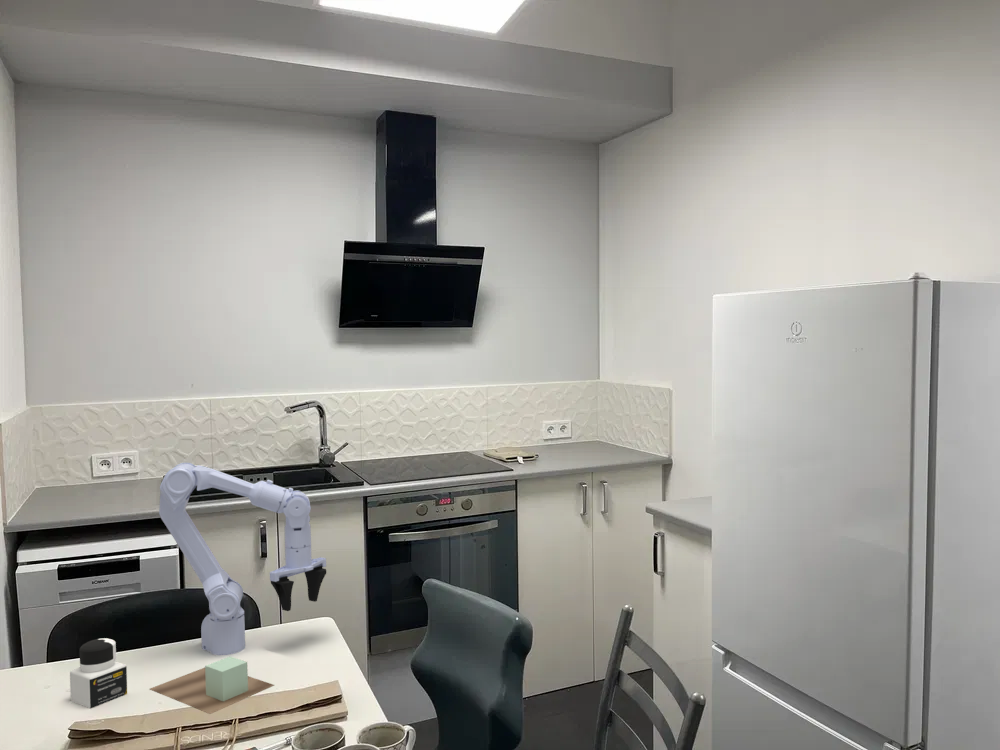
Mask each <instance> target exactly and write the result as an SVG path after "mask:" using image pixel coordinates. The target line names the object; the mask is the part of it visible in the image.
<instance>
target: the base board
mask: <svg viewBox="0 0 1000 750" xmlns="http://www.w3.org/2000/svg"><path fill="white" fill-rule="evenodd" d="M274 686H275V684H273V683H270V682H266V681H263V680H262V679H258V678H256V677H252V676H249V675H248V691H246V692H244V693H242V694H239V695H237V696H235V697H232V698H230V699H228V700H226V701H221V700H218V699H215V698H213V697H210V696H208V695H206V675H205V667H203V668H202V667H201V668H200V669H197V670H195V671H192V672H190V673H187V674H184V675H182V676H179V677H177V678H174V679H171V680H169V681H166V682H162V683H161V684H159V685H156V686H153V687H150V688H149V691H153V692H155V693H157V694H159V695H162V696H165V697H168V698H169V699H173V700H174V701H177V702H180V703H182V704H184V705H186V706H187V705H188V706H190V707H192V708H194V709H197V710H199V711H202V712H203V713H207V714H209V715H211V714H213V713H215V712H218V711H220V710H222V709H225V708H227V707H230V706H231V705H234V704H236V703H238V702H240V701H243V700H245V699H247V698H249V697H252V696H254V695H257V694H258V693H261V692H262V691H266V690H267V689H269V688H271V687H274Z"/></svg>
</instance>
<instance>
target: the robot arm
mask: <svg viewBox="0 0 1000 750" xmlns="http://www.w3.org/2000/svg"><path fill="white" fill-rule="evenodd" d="M161 481H162V482H161V483H160V485H159V491H160V492H159V493H160V494H159V495H160V496H159V506H158V508H159V509H158V510H159V512H158V513H159V517H160V519H161V521H162V522H163V523H164V525H165V526H166V529H167V530H168V531H169V533H170V535H171V536H172V538H173V539H174V541H175V543H176V544H177V546H178V547H179V549H180V550H181V552H182V553H183V556H184V557H185V558H186V560H187V561H188V564H189V565H190V566H191V567H192V569H193V571H194V573H195V574H196V576H197V577H198V580H199V581H200V583H201V584H202V588H203V591H204V592H203V593H204V595H205V597H206V598H207V600H208V606H209V607H208V610H209V614H207V615H206V616H205V617H204V619H202V623H201V626H200V627H201V628H200V629H201V630H200V633H201V640H200V641H201V649H202V650H204V651H207V652H210V654H211V655H215V656H229V655H233V654H237V653H239V652H242V651H243V650H245V648H246V629H245V627H246V626H245V610H244V609H243V608H242V606H241V601H242V599H243V596H244V590H243V589H244V588H243V586H242V585H241V584H240V583H239V582H238V581H236V580H234V579H233V578H231V576H230V575H229V573H228V572H227V571H226V570H225V569H223V568H222V566H221V565H220V562H219V561H218V559H217V558H216V556H215V555H214V553H213V552H212V550H211V549H210V547H209V545H208V544H207V542H206V540H205V539H204V537H203V536H202V534H201V532H200V531H199V529H198V528H197V526H196V525H195V523H194V521H193V520H192V518H191V516H190V515H189V514H188V512H187V510H186V508H187V505H188V502H189V500H190V496H191V494H192V493H193V491H194V490H195V489H196V491H204V490H207V489H211V488H212V489H217V490H220V491H223V492H227V493H231V494H234V495H239V496H242V497H245V498H247V499H249V502H250V503H251V505H252V506H255V507H258V508H261V509H263V510H267V511H271V512H272V513H276V514H284V516H285V525H284V545H285V546H284V552H285V553H284V554H285V555H284V557H285V558H284V559H285V565H283V566H281V567H279V568H277V569H275V570H271V571H269V580H270V584H271V586H272V587H273V589H274V590H275V592H276V594H277V596H278V599H279V602H280V606H281V610H282V611H287V612H289V611H291V610H292V591H293V587H294V584H295V583H294V582H295V581H293V580H290V579H289V577H293V576H296V575H300V574H303V573H304V576H305V579H306V584H307V597H308V601H310V602H314V603H316V602H318V598H319V594H320V590H321V585H322V583H323V581H324V579H325V576H326V575H327V569H326V567H327V558H326V557H321V556H320V557H317V558H312V529H311V527H312V526H311V524H310V522H311V516H310V513H311V509H312V507H311V501H310V498H309V496H308V495H307V494H306V493H305V492H302V491H301V490H296V489H295V490H294V488H292V487H289V488H286V487H283V486H280V485H277V484H273V483H274V481H273V480H270V479H267V480H266V481H265V480H259V481H258V482H256V483H253V482H249V481H248V480H247V481H246V480H245V479H244V480H243V479H242V478H238V477H236V476H234V475H231V474H228V473H225V472H222V471H220V470H217V469H214V468H211V467H208V466H204V465H201V464H200V465H199V464H197V465H195V464H193V463H191V462H181V463H178V464H176V465H175V466H174V467H173V468H170V469H169V470H168V471H167V472H166V473H165V475H164V476H163V479H162V480H161Z"/></svg>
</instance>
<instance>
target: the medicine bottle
mask: <svg viewBox="0 0 1000 750" xmlns="http://www.w3.org/2000/svg"><path fill="white" fill-rule="evenodd" d="M116 643H117V642H116V641H115V640H114V639H111V638H107V637H106V638H105V637H104V638H96V639H92V640H89V641H86V642H85V643H83V644H82V645H81V646H80V647H79V667H77V668H73V669H72V670H70V671H69V687H70V688H69V689H70V691H69V692H70V701H71V702H73V703H75V704H78V705H81V706H83V707H86V708H88V709H93V708H96V707H99V706H100V705H103V704H105V703H108V702H110V701H113V700H116V699H118V698H121V697H123V696H127V695H128V676H127V675H128V673H127V672H128V671H127V664H125V663H121V662H119V661H116V660H117V648H116V647H117V646H116V645H117V644H116Z"/></svg>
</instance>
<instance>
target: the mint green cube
mask: <svg viewBox="0 0 1000 750" xmlns="http://www.w3.org/2000/svg"><path fill="white" fill-rule="evenodd" d="M204 668H205V675H206V695H208V696H210V697H213V698H215V699H218V700H221V701H226V700H228V699H230V698H232V697H235V696H237V695H239V694H242V693H244V692H246V691H248V676H249V675H248V674H249V673H248V670H249V669H248V661H245V660H244V659H243V660H242V659H239V658H236V657H233V656H231V655H230V656H227V657H225V658H223V659H220V660H217V661H215V662H211V663H209V664H206V665H205V666H204Z"/></svg>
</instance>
